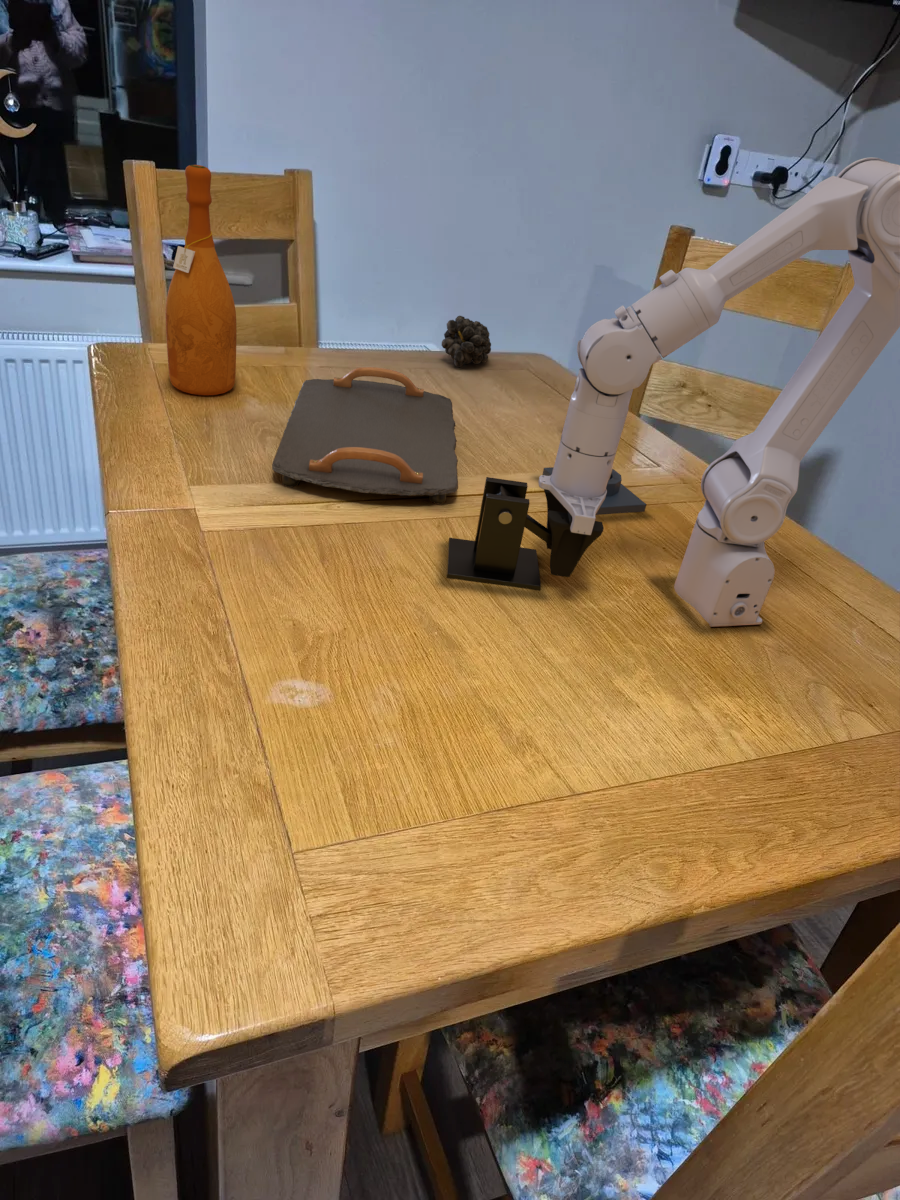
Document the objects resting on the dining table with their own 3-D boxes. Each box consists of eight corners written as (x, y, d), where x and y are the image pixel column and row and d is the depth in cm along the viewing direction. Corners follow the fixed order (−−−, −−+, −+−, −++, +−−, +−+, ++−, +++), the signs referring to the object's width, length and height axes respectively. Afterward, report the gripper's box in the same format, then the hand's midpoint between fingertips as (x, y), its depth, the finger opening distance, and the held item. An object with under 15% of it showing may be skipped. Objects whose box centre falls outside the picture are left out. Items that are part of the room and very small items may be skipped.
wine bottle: (167, 374, 127) (157, 155, 111) (233, 376, 131) (233, 164, 114) (169, 397, 120) (159, 166, 104) (239, 399, 123) (240, 175, 107)
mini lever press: (534, 558, 95) (552, 480, 89) (538, 595, 88) (558, 513, 83) (447, 546, 94) (460, 467, 89) (445, 583, 87) (459, 499, 82)
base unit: (643, 515, 109) (650, 491, 107) (584, 520, 105) (591, 495, 103) (596, 476, 118) (602, 453, 116) (541, 478, 114) (546, 455, 112)
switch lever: (557, 546, 92) (571, 530, 91) (560, 568, 88) (576, 553, 87) (486, 495, 89) (500, 479, 88) (487, 516, 85) (502, 499, 84)
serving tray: (304, 390, 130) (306, 350, 127) (450, 408, 132) (456, 370, 129) (264, 499, 97) (265, 450, 94) (458, 522, 100) (466, 475, 96)
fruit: (518, 342, 157) (484, 332, 144) (495, 379, 161) (459, 374, 147) (485, 317, 159) (448, 305, 146) (462, 354, 163) (424, 346, 150)
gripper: (544, 413, 89) (518, 524, 96) (555, 467, 77) (524, 590, 84) (608, 423, 89) (578, 533, 97) (629, 479, 77) (592, 601, 84)
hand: (557, 561), depth 90 cm, fingers closed on switch lever, 5 cm apart
